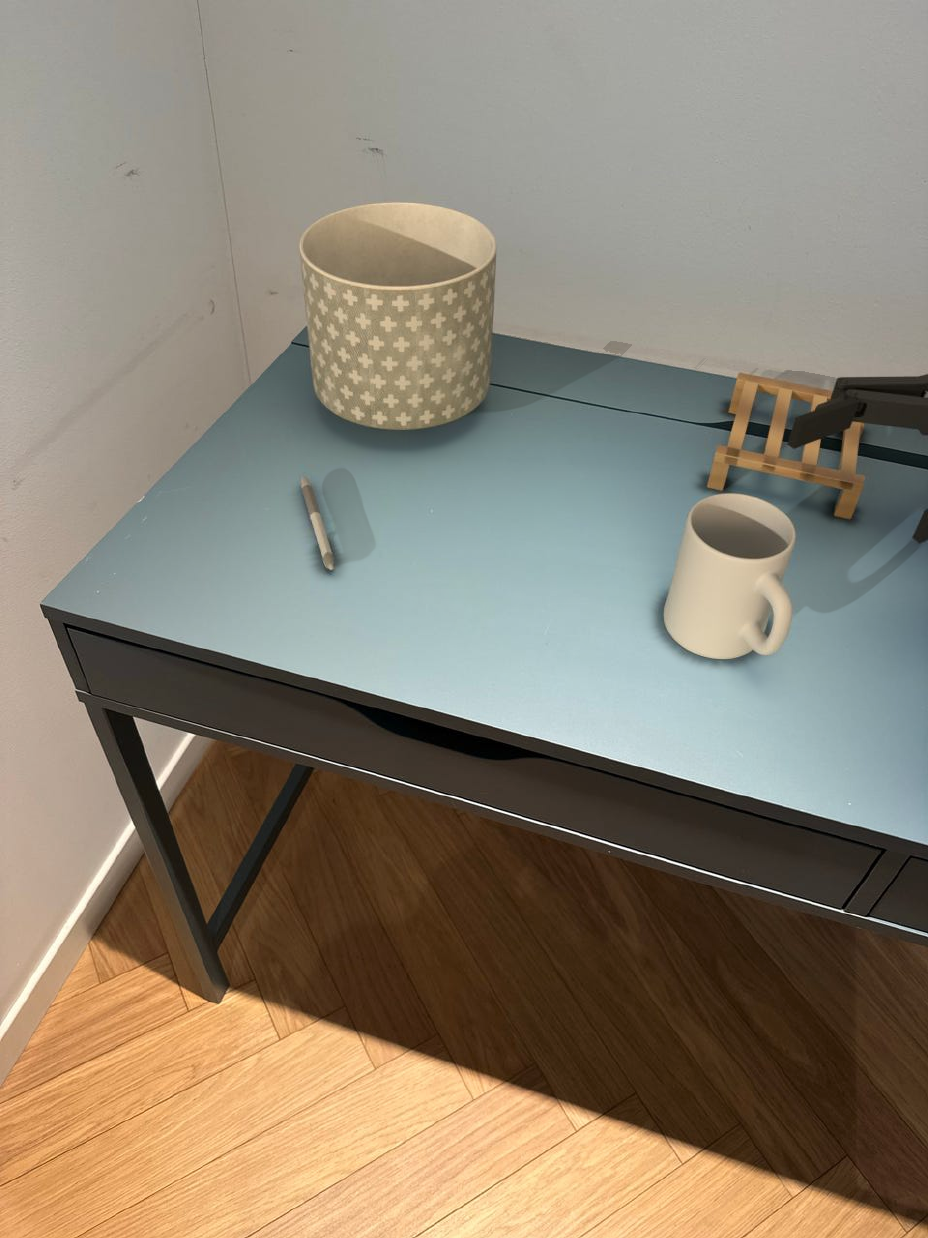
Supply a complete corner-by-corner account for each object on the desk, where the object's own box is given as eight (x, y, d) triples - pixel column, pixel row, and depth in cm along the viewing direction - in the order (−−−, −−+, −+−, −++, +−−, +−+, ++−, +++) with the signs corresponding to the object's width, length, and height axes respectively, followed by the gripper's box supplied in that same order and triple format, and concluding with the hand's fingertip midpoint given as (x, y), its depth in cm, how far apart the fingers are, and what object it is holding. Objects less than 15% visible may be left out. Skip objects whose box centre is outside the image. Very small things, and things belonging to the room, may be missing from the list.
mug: (644, 603, 84) (666, 504, 76) (727, 580, 87) (756, 482, 79) (719, 702, 76) (751, 604, 69) (807, 674, 79) (849, 575, 71)
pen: (326, 577, 86) (325, 565, 85) (299, 484, 95) (297, 473, 94) (337, 575, 86) (336, 563, 85) (309, 483, 95) (307, 471, 94)
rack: (850, 519, 93) (864, 485, 90) (706, 487, 96) (715, 452, 93) (860, 431, 104) (872, 397, 101) (730, 405, 107) (738, 371, 104)
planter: (509, 441, 101) (520, 276, 88) (330, 465, 97) (314, 296, 84) (464, 350, 114) (468, 194, 101) (304, 368, 110) (287, 209, 97)
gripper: (1141, 522, 78) (963, 609, 71) (906, 376, 93) (739, 435, 86) (1193, 446, 73) (1007, 532, 65) (935, 304, 88) (759, 360, 80)
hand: (854, 477), depth 76 cm, fingers open, 13 cm apart
